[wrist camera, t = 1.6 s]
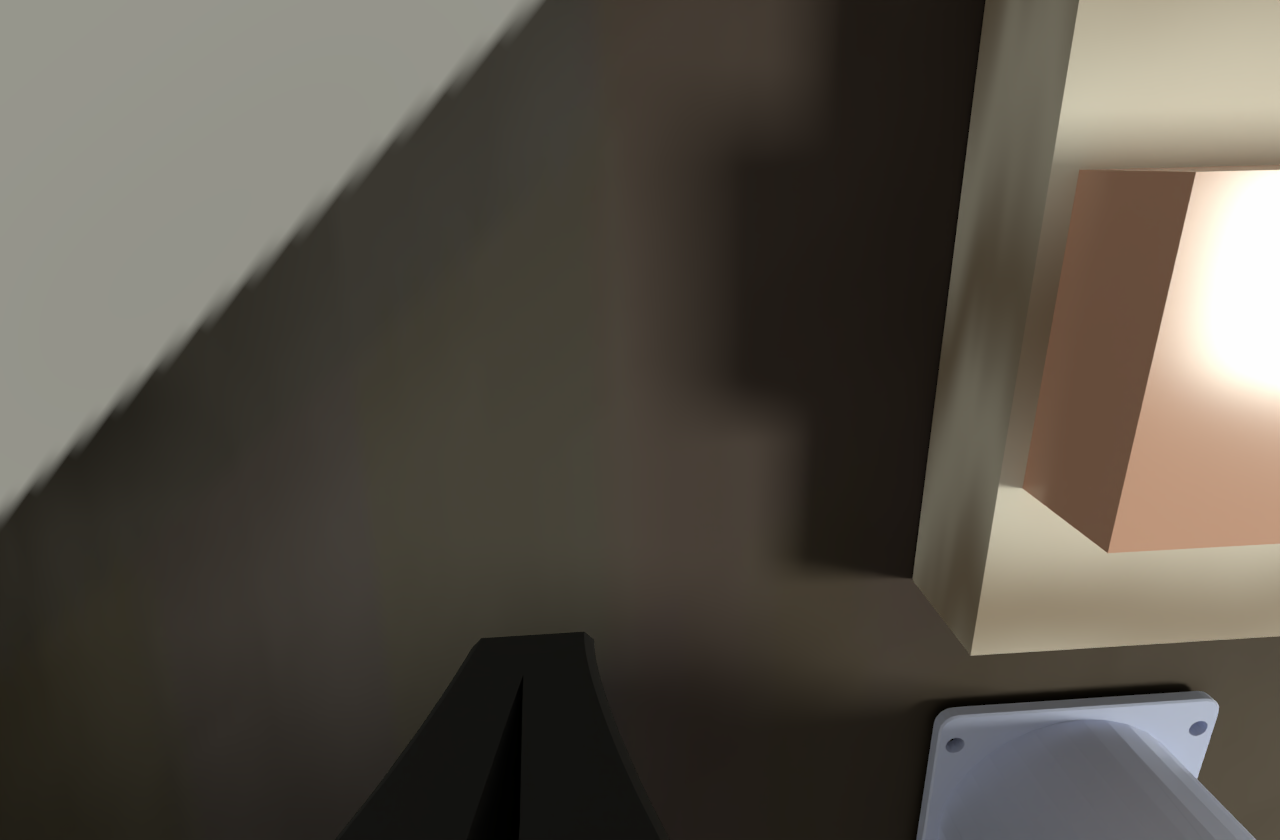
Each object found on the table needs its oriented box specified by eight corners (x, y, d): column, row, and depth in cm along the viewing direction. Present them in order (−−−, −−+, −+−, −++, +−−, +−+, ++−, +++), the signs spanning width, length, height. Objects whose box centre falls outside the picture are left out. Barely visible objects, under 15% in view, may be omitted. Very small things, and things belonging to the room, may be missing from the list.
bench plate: (1244, 561, 19) (1359, 631, 16) (912, 579, 18) (970, 655, 16) (1435, -58, 14) (1647, -113, 11) (992, -54, 14) (1097, -111, 11)
